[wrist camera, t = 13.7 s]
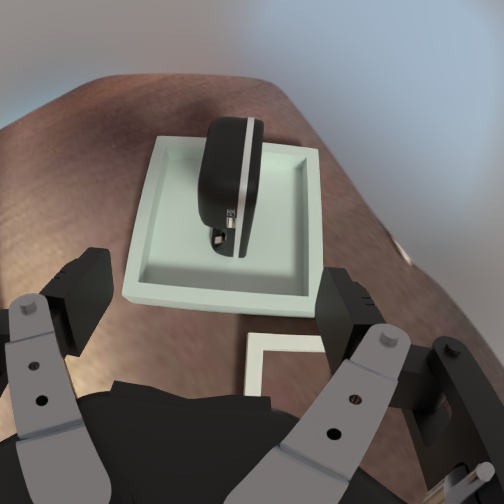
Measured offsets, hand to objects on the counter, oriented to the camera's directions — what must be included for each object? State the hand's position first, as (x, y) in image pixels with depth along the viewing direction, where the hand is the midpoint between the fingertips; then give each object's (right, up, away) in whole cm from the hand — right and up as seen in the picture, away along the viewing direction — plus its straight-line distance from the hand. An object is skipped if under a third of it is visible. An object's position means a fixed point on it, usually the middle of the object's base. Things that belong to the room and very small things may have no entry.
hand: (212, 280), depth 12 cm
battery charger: (-1, +4, +18) cm, 18 cm away
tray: (-1, +3, +18) cm, 19 cm away
